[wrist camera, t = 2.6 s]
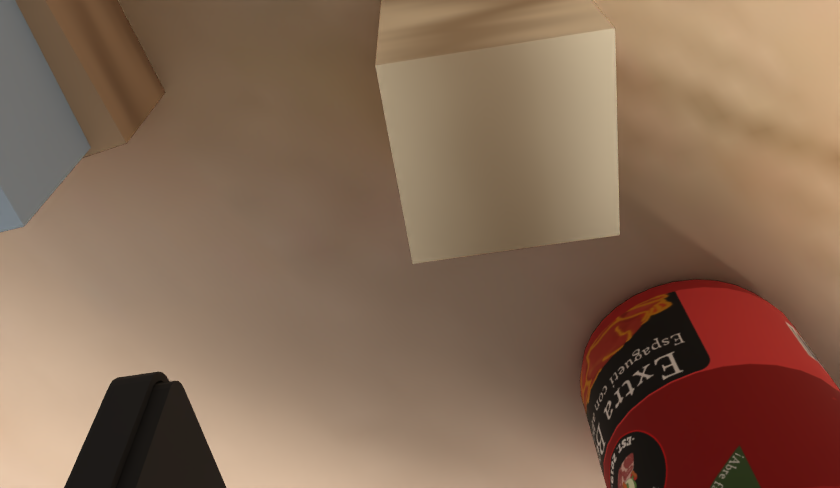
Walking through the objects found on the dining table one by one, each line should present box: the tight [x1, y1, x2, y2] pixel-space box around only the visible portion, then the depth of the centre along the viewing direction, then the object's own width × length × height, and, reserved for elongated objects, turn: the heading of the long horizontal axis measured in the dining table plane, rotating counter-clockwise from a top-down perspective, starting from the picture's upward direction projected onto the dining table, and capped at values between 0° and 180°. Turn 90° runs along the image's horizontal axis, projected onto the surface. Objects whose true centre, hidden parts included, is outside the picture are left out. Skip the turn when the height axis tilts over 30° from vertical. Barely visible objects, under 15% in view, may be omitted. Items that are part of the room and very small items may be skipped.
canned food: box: [580, 280, 840, 488], centre depth 24 cm, size 8×8×11 cm
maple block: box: [375, 0, 620, 264], centre depth 20 cm, size 5×5×6 cm
